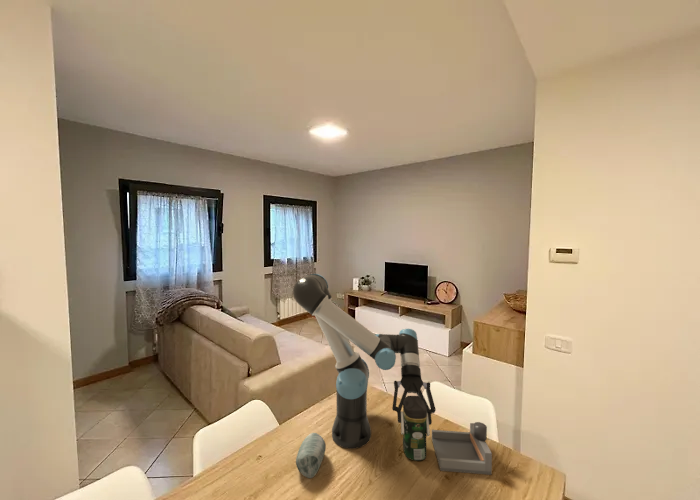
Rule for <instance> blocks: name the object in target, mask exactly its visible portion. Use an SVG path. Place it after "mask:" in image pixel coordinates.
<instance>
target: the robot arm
mask: <svg viewBox="0 0 700 500" xmlns="http://www.w3.org/2000/svg"><path fill="white" fill-rule="evenodd" d="M292 297H293V298H294V300H295V302H296V304H298V305H299V306H300V307H301V308H303V309H304V310H305V312H307V313H309V314H310V315H311V316H314V317H315V320H316V321H317V324H318V325H319V328H320V329H321V332H322V333H323V335H324V337H325V340H326V341H327V344H328V346H329V349H330V350H331V352H332V354H333V356H334V358H335V361H336V363H335V370H336V371H337V373H338V374H337V377H336V382H335V383H336V384H335V387H336V388H335V389H336V415H335V419H334V421H333V425H332V427H331V437H332V440H333V443H335V444H336V445H338V446H339V447H342V448H344V449H351V450H352V449H359V448H362V447H364V446H366V445H367V444H368V443H369V442H370V441H371V438H372V428H371V424H370V422H369V418H368V415H367V412H368V411H367V405H368V403H367V399H368V398H367V396H368V384H369V378H370V370H369V366H368V364H367V362H366V360H365V359H363V358H362V356H361V355H360V353H359V352H356V351H355V350H354V348H353V346H352V344H354V345H355V346H356V347H358V349H360V350H361V351H363V352H364V353H365V354H367V355H368V356H369V357H370V358H372V359H373V360H374V361H375V365H376V366H377V368H379V369H380V370H382V371H388V370H391V369H392V368H393V367H394V366H395V365H396V359H397V356H396V355H397V354H400V371H401V373H400V374H401V379H400V380H398V381H397V380H394V381H393V386H394V391H393V393H394V394H393V399H392V400H393V401H392V410H393V411H395V412H396V413H397V423H398V424H399V423H400V429H401V430H400V434H401V435H402V436H403V435H404V419H403V401H404V399H405V398H406V397H407V396H408V395H407V394H416V396H418V397H419V398H421V399H422V400H423V401H424V403H425V406H426V408H427V421H426V437H430V436H431V433H430V432H431V431H430V430H431V429H430V426H431V425H432V422H433V421H432V414H434V413H435V412H436V411H437V410H436V409H437V408H436V406H435V402H434V398H433V395H432V391H431V383H430V381H429V382H424V381H423V379H422V372H421V371H422V370H421V368H420V367H421V363H420V362H421V361H420V351H419V340H418V335H417V332H416V331H415V330H414V329H412V328H405V329H403V328H402V329H401V330H399V333H398V334H389V333H387V334H384V333H377V334H375V333H373V332H372V331H370V330H369V329H368V328H367V327H366V326H365V325H363V324H362V323H361V322H360V321H357V320H356V319H355V318H354V317H352V316H351V315H350V314H349V313H347V312H345V311H344V310H343V309H342V308H340V307H339V306H338V305H337V304H335V303H334V302H333V301H332V300H333V297H332V295H331V292H330V291H329V284H328V281H327V279H326V278H325V277H324V276H323V275H321V274H319V273H310V274H307V275H306V276H304V277H300V278H299V279H297V281H296V282H295V283H294V285H293V288H292ZM351 343H352V344H351ZM400 386H402V388H403V389H404V390H403V393H402V395H401V398H400V402H399V404H398V406H397V402H398V395H399V394H398V392H399V391H398V390H399V388H401V387H400ZM422 387H423V388H424V390H425V392H426V396H427V399H428V402H427V401H426V398H425V396H424V395H423V393H422V390H421V389H422Z"/></svg>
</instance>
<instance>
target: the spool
mask: <svg viewBox="0 0 700 500" xmlns="http://www.w3.org/2000/svg"><path fill="white" fill-rule="evenodd" d="M326 449H327V446H326V442H325V440H324V438H323V436H322V435H320V434H319V433H317V432H311V433H309V434H308V435H307V436H306V437H305V438H304V439H303V441H302V442H301V444H300V447H299V448H298V451H297V455H296V458H295V465H296V468H297V470H298V472H299V473H300V474H301V475H302V476H303V477H305V478H307V479H313V478H314V477H315V476H316V475H317V473H318V471H319V469H320V467H321V465H322V462H323V460H324V456H325V453H326Z"/></svg>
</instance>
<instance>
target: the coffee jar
mask: <svg viewBox="0 0 700 500" xmlns="http://www.w3.org/2000/svg"><path fill="white" fill-rule="evenodd" d="M402 412H403V419H404V435H403V434H402V448H403V452H404V455H405V457H406V458H407V459H409V460H411V461H415V462H416V461H417V462H419V461H423V460H425V459H426V458H427V434H426V421H427V408H426V406H425V403H424V401H423V400H422V399H421V398H419V397H418V395H406V398H405V399H404V401H403V406H402Z"/></svg>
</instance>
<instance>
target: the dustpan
mask: <svg viewBox="0 0 700 500" xmlns="http://www.w3.org/2000/svg"><path fill="white" fill-rule="evenodd" d="M469 424H470V425H469V432H468V431H456V430H442V429H441V430H440V429H431V440H432V441H431V442H432V445H433V449H434V452H435V457H436V460H437V463H438V464H437V465H438V468H439V471H442V472H453V473H454V472H455V473H462V474H463V473H466V474H468V473H469V474H479V475H489V476H492V472H493V471H492V467H493V460H492V459H493V453H492V451H491V449H490V448H489V446H488V444H487V442H486V441H487V436H488V435H487V432H488V431H487V430H488V426H487V425H486V424H485V423H484V422H480V421H476V422H470V423H469Z"/></svg>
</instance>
